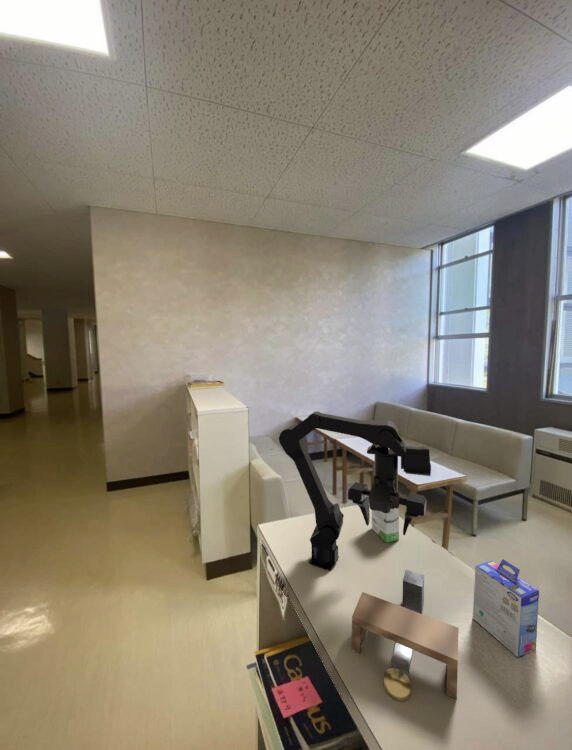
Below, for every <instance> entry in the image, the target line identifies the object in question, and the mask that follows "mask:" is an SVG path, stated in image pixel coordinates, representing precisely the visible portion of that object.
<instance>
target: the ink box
mask: <svg viewBox="0 0 572 750" xmlns="http://www.w3.org/2000/svg"><path fill="white" fill-rule="evenodd" d="M399 520H400V507H399V508H398V509H397V508H394V509H391V510H390V512H389V513H383V512H381V511H376V510H375V511H374V510H371V529H372V530H373V531H374V533H376V535H378V536H379V537H380V538H381V539H382V540H383V541H384V542H385V543H391V542H395V541H399V540H400V521H399Z"/></svg>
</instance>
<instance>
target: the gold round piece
mask: <svg viewBox="0 0 572 750" xmlns="http://www.w3.org/2000/svg"><path fill="white" fill-rule="evenodd" d="M383 689H384V690H385V693H386V694H387V696H389V698H391V699H392V700H393V701H396V702H399V703H403V702H404V703H405V702H407V701H408V700H409V699H410V698H411V694H412V692H411V691H412V684H411V681H410V678H409V676H408V675H407V673H406V672H405V671H403V670H401V669H398V668H396V667H391V668H388V669H387V670H385V672H384V674H383Z"/></svg>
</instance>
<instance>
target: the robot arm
mask: <svg viewBox="0 0 572 750" xmlns="http://www.w3.org/2000/svg"><path fill="white" fill-rule="evenodd" d="M316 429H319V430H323V431H329V432H333V433H338V434H341V435H342V434H343V435H348V436H353V437H358V438H360V439H363V440H365V441H367V442H369V443H371V445H369V446H368V447H367V450H366V453H367V454H369V455H374V460H373V461H374V463H373V464H374V465H373V466H374V469H373V470H374V475H373V483H372V485H371V489H369V486H368V484H366V483H360V482H354V483H352V485H351V486H350V487H349V488H348V490H347V499H348V501H349V500H350V501H352V503H353V504H355V505H357V506H358V507H359V509H360V511H361V514H362V517H363V518H364V519H363V520H364V522H365V524H366V526H369V525H370V517H371V516H370V510H371V511H372V510H374V511H375V510H376V511H381V512H383V513H389V512H390V510H391V509H394V508H397V509H398V508H399V509H400V505H401V506H405V512H404V513H405V514H404V521H403V522H404V523H403V528H402V535H403V536H405V535H406V533H407V530H408V529H409V526H410V523H411V522H412V519H413V518H415V519H416V518H417V519H418V518H419V517H424V516H425V513H426V509H427V498H426V497H425V495H422V494H418V493H417V494H416V493H413V492H412V493H411V492H409V494H408V496H407V497H406V496H401V495H400V493H398V491H399V489H398V487H399V484H398V483H399V457H400V470H403V472H404V473H405V474H407V475H417V476H425V477H431V475H432V463H431V457H430V447H428V446H421V447H418V446H407V445H406V443H405V441H404V440H403V439H402V437H401V436H400V435H399V429H398V426H397V425H396V424H395V422H394V421H391V420H388V419H385V420H384V419H373V420H372V419H371V420H360V419H356V418H355V419H354V418H349V417H344V416H339V415H334V414H328V413H324V412H320V411H313V412H312V413H311V414H309V415H308V416H307V417H306V418H305V419H303V420H302V421H301V422H299V423H298V424H297V423H294V424H291V425H289V426H287V427H286V428H285V429H283V430H282V431H281V432H280V433H279V437H278V442H279V445H280V446H281V448H282V449H283V451H284V453H285V454H286V455H287V456H288V457H289V458H290V459H291V460H292V461H293V462H294V465H295V467H296V469H297V471H298V474H299V477H300V478H301V481H302V483H303V485H304V488H305V490H306V493H307V494H308V497H309V499H310V502H311V504H312V507H313V510H314V517H315V527H314V530H313V532H312V534H311V536H310V538H309V542H310V544H311V546H310V547H311V557H310V559H309V560H308V563H309V564H310V565H314V566H315V567H318V568H320V569H324V570H327V571H328V572H330V571H332V570H333V568H334V566H335V565H336V564H337V563H338V561H339V546H338V545H337V540H338V539H339V537H340V534H341V532H342V527H343V523H344V518H345V517H344V516H345V515H344V513H342V511H341V507H340V504H339V503H338V502H337V503H332V502H331V500H329V497H328V495H327V492H326V491H325V488H324V486H323V484H322V481H321V480H320V476H319V474H318V472H317V470H316V467H315V465H314V463H313V461H312V459H311V456H310V453H309V446H308V438H307V435H309V434H310V433H312V431H314V430H316Z"/></svg>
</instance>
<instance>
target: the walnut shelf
mask: <svg viewBox="0 0 572 750" xmlns="http://www.w3.org/2000/svg"><path fill="white" fill-rule="evenodd" d="M358 599H359V600H358V601H357V603H356V606H355V608H354V611H353V613H352V615H351V650H352V651H354V652H355V653H358V654H360V653H361V651H362V648H363V644H364V641H365V639H366V636H367V634H368V631H369V632H371V633H374V634H376V635H377V636H381V637H383V638H385V639H387V640H389V641H393V642H394V643H395V644H396V643H399V644H401V645H403V646H406V647H408V648H410V649H412V650H413V651H415V652H418V653H420V654H422V655H424V656H426V657H429V658H431V659H433V660H436V661H438V662H440V663H443V664H446V666H447V667H446V669H447V670H446V671H447V672H446V695H447V696H448V697H451V698H453V699H454V700H457V699H458V698H457V697H458V696H457V695H458V672H459V671H458V668H459V667H458V665H459V630H460V629H459V627H457V626H455V625H452V624H449V623H447V622H444V621H441V620H440V619H436V618H433V617H430V616H427V615H425V614H423V613H422V614H420V613H418V612H415V611H412V610H410V609H407V608H404V607H402V605H398V604H396V603H393V602H390V601H388V600H386V599H382V598H380V597H377V596H374V595H372V594H370V593H367V592H363V591H362V592H361V594H360V597H359V598H358Z"/></svg>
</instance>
